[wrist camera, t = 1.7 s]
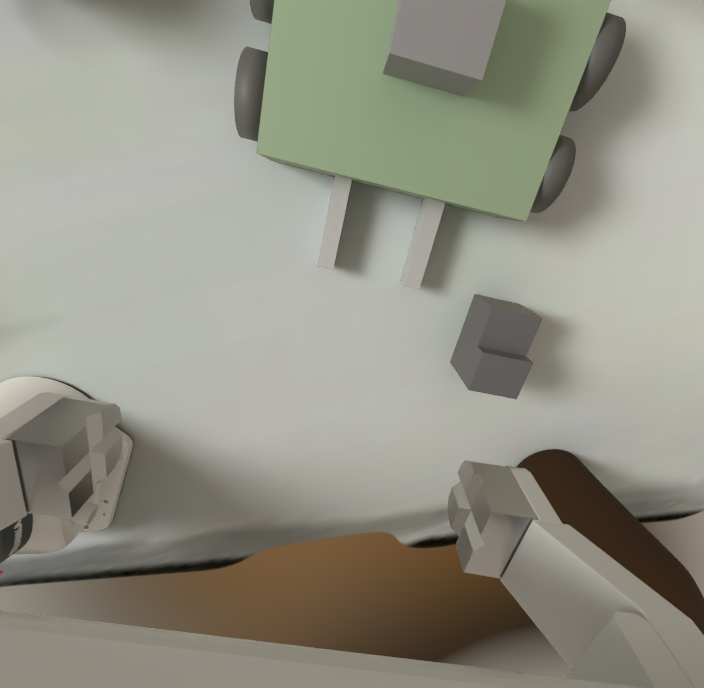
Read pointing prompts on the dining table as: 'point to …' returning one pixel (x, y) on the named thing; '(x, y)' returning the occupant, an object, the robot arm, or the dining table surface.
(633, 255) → the dining table surface
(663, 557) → the olive oil
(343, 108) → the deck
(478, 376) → the grey stepped block
